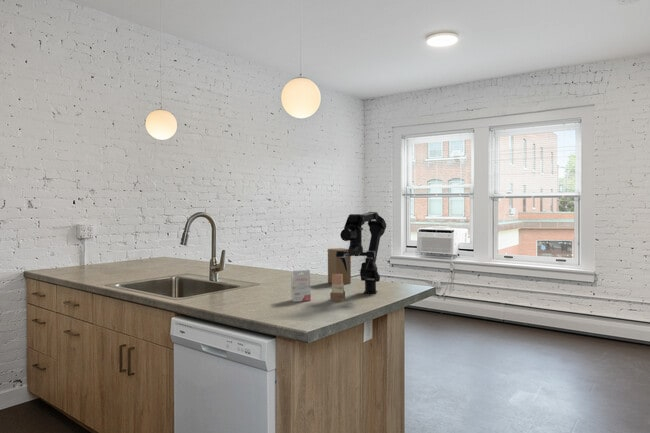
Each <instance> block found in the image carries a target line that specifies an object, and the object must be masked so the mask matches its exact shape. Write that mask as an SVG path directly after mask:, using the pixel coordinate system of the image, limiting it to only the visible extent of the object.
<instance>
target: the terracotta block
mask: <svg viewBox="0 0 650 433" xmlns="http://www.w3.org/2000/svg"><path fill="white" fill-rule="evenodd" d="M342 283H343V274H333V275H332V283H331V285H332V284H335V285H341V284H342Z"/></svg>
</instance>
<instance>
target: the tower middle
mask: <svg viewBox="0 0 650 433" xmlns="http://www.w3.org/2000/svg"><path fill="white" fill-rule="evenodd" d="M344 291H345V284H344V283H342V284H341V285H335V284H332V283H331V292H332V293H343V292H344Z"/></svg>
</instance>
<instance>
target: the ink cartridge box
mask: <svg viewBox="0 0 650 433" xmlns="http://www.w3.org/2000/svg"><path fill="white" fill-rule="evenodd" d="M292 273H293V275H291V276H290V278H291V279H290V282H291V285H290V286H291V301H292V302H308V301H311V297H312V296H311V271H310V270H309V269H305V270H304V269H303V270H293V271H292Z"/></svg>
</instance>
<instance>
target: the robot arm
mask: <svg viewBox="0 0 650 433" xmlns="http://www.w3.org/2000/svg"><path fill="white" fill-rule="evenodd" d="M366 222H367V226H368V227H369V229H368V230H369V234H370V235H371V236H370V240H369V245H368V250H366V251H364V247H363V245H362V244H363V243H362V239H363V238H362V237H363V236H362V234H363V233H362V231H363V230H364V228H363V225H365V224H366ZM343 228H344V229H342V230H341V232H340V239H341V240H342V241H344V242H349V246H348V248H347V249H348V252H346V250H339V251H337V252H336V257H339V259H341V260H342V261H343V263H344V266H345V269H346V271H347V256H351V257H365V258H364V259H365V261H364V262H362V263H361V266H360V269H359V275H360V281H362V282H363V281H364V291H363V294H377V293H378V290H377V282H380V280H381V276H380V274H379V272H378V267H377V264H376V261H377V256H378V252H379V246H380V241H381V237H382V236H383V235H384V234H385V231H386V229H387V223H386V220H385V219H384V218H383V217H382V216H381V215H379V213H378V212H376V211H369V212H366V213H350V214H349V215H348V216H347V219H346V221H345V224H344V227H343Z"/></svg>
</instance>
